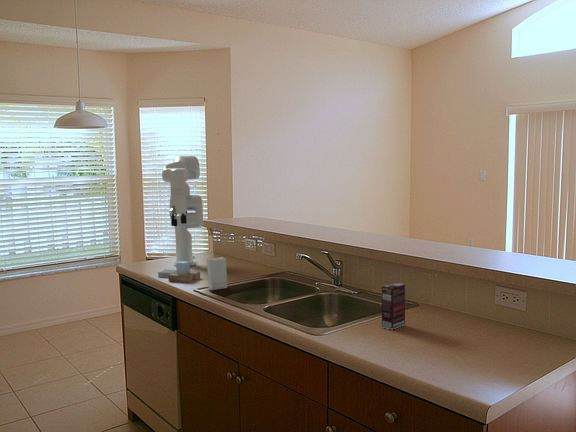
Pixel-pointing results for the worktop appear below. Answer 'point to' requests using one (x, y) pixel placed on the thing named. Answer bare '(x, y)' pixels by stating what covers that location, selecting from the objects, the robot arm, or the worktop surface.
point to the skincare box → (217, 273)
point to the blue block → (183, 267)
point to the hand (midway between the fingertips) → (179, 224)
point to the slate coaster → (166, 273)
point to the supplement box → (393, 305)
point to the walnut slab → (184, 277)
